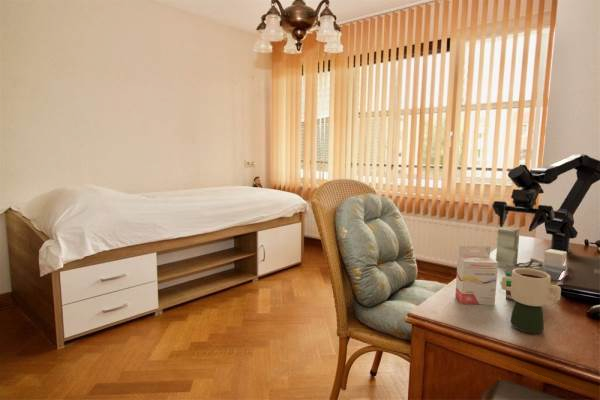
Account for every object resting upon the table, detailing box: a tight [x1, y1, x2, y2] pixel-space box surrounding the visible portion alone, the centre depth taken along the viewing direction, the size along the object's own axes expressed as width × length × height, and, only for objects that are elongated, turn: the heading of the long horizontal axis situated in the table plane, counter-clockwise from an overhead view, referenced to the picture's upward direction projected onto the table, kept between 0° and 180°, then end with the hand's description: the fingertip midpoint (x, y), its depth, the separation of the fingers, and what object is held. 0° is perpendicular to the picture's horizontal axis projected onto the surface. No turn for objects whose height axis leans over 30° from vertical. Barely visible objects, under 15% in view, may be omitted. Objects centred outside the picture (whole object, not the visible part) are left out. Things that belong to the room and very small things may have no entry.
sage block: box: [495, 226, 521, 268], centre depth 119 cm, size 5×5×13 cm
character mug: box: [500, 268, 562, 334], centre depth 76 cm, size 11×7×13 cm, turn 52°
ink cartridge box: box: [455, 245, 499, 306], centre depth 90 cm, size 9×5×15 cm, turn 84°
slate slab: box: [540, 260, 567, 282], centre depth 110 cm, size 9×9×3 cm
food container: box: [504, 257, 546, 303], centre depth 90 cm, size 12×6×10 cm, turn 117°
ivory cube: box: [543, 248, 568, 266], centre depth 118 cm, size 5×5×5 cm
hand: (514, 228), depth 121 cm, fingers open, 9 cm apart
